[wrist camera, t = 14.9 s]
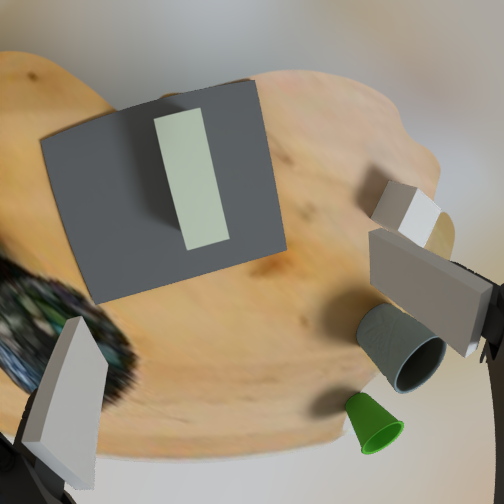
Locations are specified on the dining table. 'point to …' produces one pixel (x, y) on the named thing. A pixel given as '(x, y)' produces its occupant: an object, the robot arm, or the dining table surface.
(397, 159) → the dining table surface
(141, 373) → the dining table surface
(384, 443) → the cup
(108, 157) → the mat
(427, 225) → the small light-grey cube
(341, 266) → the dining table surface
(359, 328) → the blue-grey tumbler
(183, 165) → the sage block
